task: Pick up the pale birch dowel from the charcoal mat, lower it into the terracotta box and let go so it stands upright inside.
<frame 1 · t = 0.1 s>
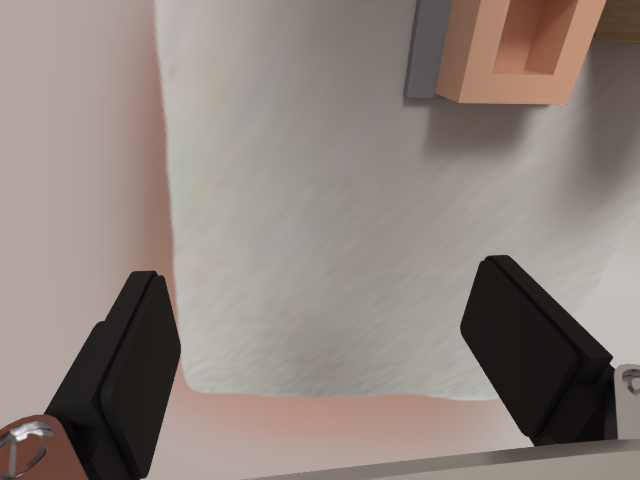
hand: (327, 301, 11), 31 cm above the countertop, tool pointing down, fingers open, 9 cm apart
terracotta box: (499, 34, 35), resting on charcoal mat
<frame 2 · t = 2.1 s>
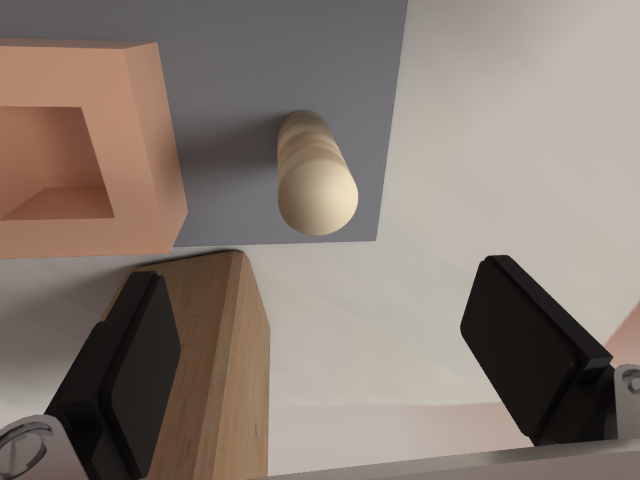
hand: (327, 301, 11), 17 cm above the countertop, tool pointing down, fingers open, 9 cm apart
charcoal mat: (200, 133, 25), on the countertop
wooden block: (206, 297, 32), on the countertop
birch dowel: (303, 137, 24), point 1 cm above the countertop, touching charcoal mat
terracotta box: (85, 137, 23), resting on charcoal mat
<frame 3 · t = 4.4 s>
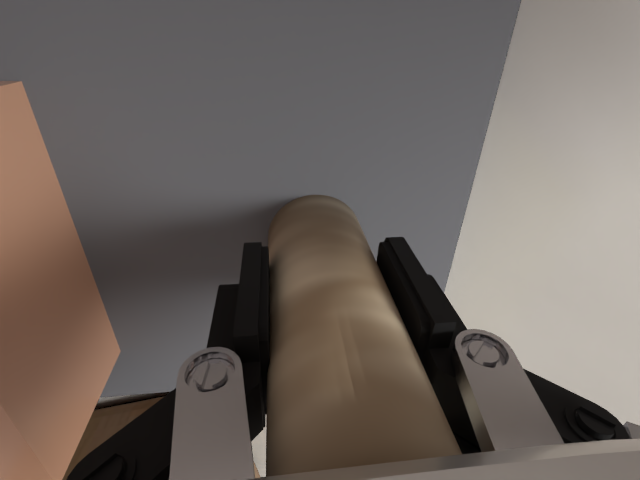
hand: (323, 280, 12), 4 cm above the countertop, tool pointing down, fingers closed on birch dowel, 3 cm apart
charcoal mat: (134, 230, 14), on the countertop
wooden block: (164, 442, 22), on the countertop
birch dowel: (314, 237, 14), point 1 cm above the countertop, touching charcoal mat, gripper
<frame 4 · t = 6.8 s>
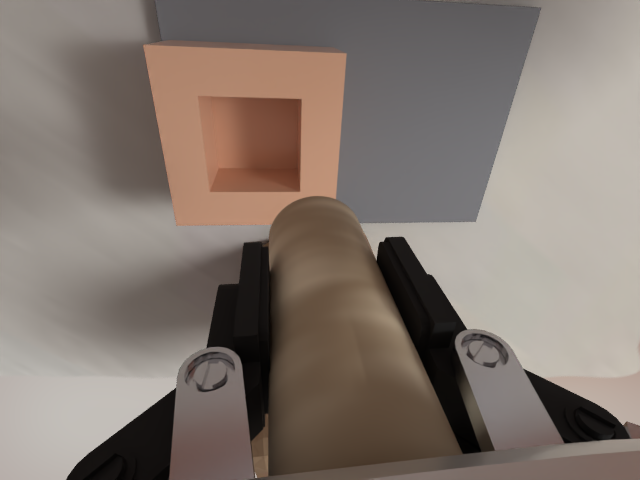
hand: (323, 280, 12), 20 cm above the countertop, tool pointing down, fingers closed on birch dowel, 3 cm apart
charcoal mat: (345, 124, 29), on the countertop
wooden block: (317, 271, 37), on the countertop
birch dowel: (315, 238, 14), point 17 cm above the countertop, touching gripper
terracotta box: (257, 126, 27), resting on charcoal mat
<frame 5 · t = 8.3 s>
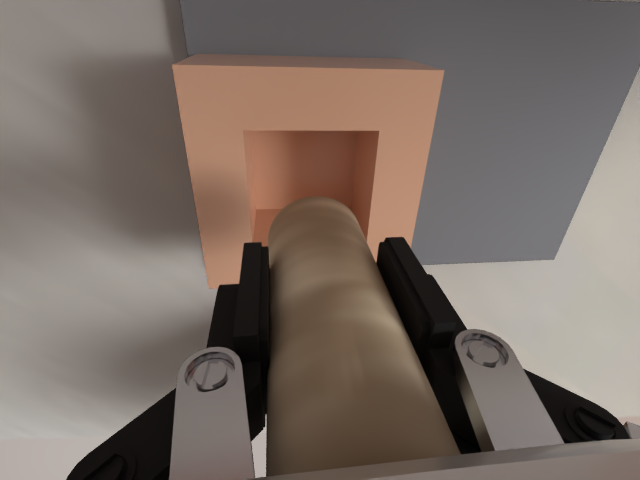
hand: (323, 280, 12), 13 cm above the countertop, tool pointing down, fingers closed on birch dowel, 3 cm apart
charcoal mat: (408, 151, 24), on the countertop
birch dowel: (314, 238, 14), point 10 cm above the countertop, touching gripper
terracotta box: (303, 156, 22), resting on charcoal mat
when the fingers open (7 cm above the countertop, at t = 9.6 s): birch dowel drops 3 cm, resting on terracotta box.
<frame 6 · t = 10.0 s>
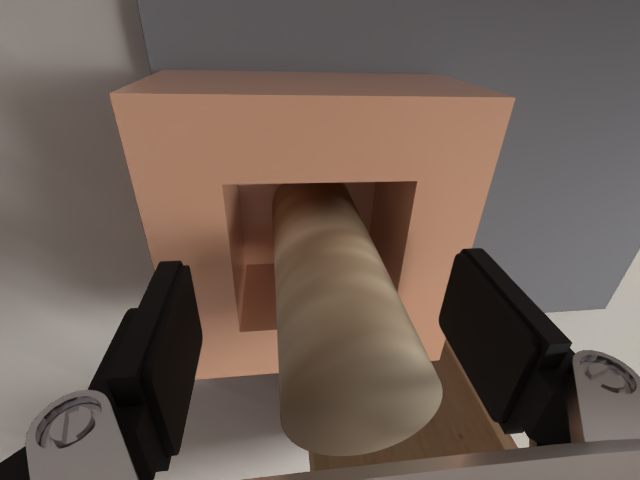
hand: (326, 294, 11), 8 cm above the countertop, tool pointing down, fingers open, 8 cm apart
charcoal mat: (437, 187, 19), on the countertop
wooden block: (375, 373, 26), on the countertop
birch dowel: (312, 208, 16), point 2 cm above the countertop, touching terracotta box
terracotta box: (306, 198, 17), resting on charcoal mat
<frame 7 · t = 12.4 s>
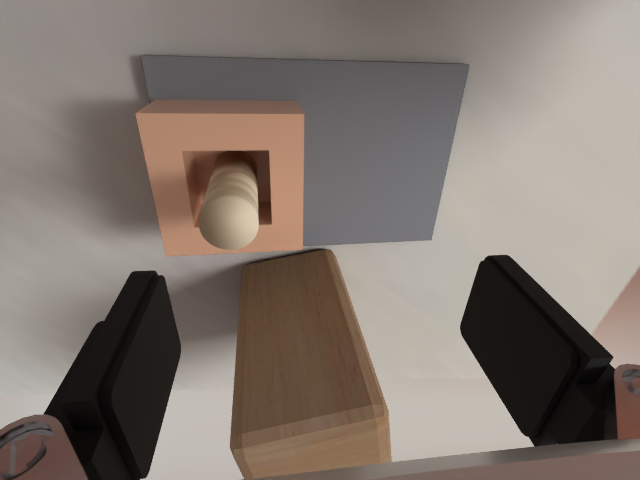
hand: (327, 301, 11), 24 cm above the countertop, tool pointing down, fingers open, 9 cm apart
charcoal mat: (311, 161, 33), on the countertop
wooden block: (294, 288, 41), on the countertop
birch dowel: (235, 170, 31), point 2 cm above the countertop, touching terracotta box
terracotta box: (234, 166, 31), resting on charcoal mat
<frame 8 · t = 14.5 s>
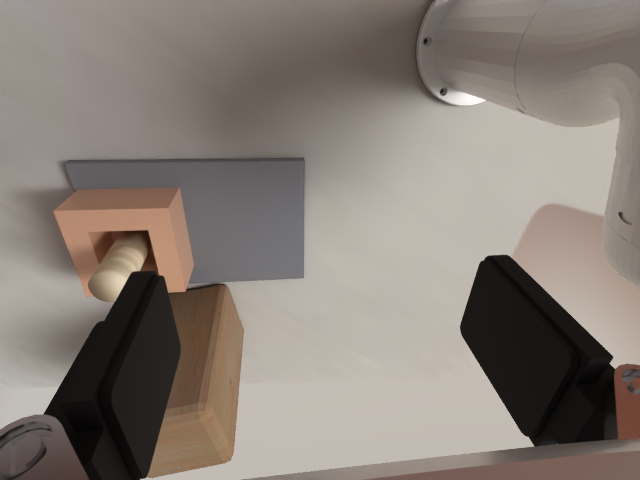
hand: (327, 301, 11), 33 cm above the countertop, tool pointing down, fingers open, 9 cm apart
charcoal mat: (201, 224, 46), on the countertop
wooden block: (204, 311, 53), on the countertop
birch dowel: (139, 234, 43), point 2 cm above the countertop, touching terracotta box
terracotta box: (140, 230, 44), resting on charcoal mat
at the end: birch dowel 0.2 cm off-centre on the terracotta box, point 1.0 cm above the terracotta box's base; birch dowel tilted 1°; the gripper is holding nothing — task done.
